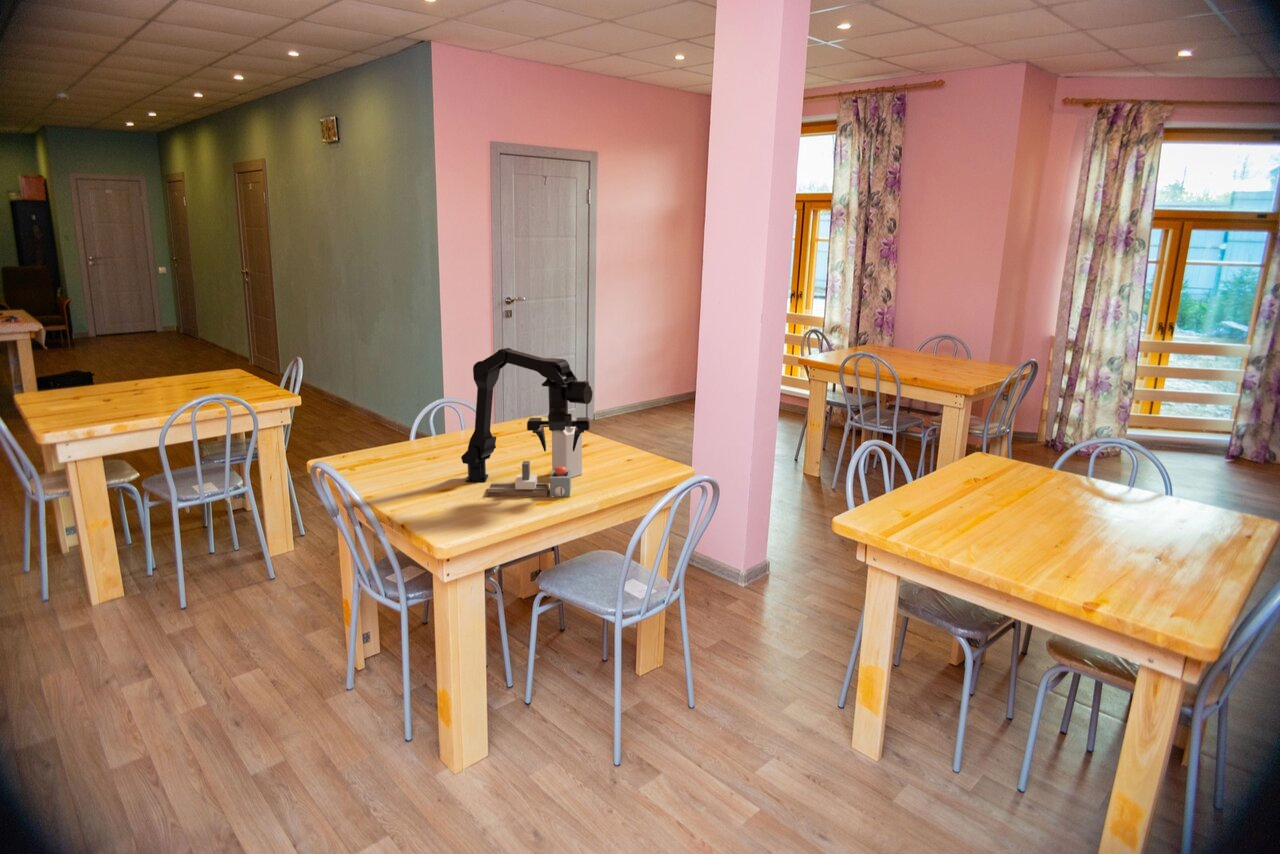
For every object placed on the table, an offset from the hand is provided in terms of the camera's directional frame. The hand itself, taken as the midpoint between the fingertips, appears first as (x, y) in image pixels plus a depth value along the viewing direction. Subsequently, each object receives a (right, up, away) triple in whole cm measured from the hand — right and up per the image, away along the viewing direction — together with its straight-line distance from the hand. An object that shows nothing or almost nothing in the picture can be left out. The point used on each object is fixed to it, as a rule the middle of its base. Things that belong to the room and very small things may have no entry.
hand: (559, 451), depth 233 cm
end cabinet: (0, -13, +3) cm, 13 cm away
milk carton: (0, -9, +21) cm, 23 cm away
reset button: (0, -7, +2) cm, 7 cm away
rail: (-13, -13, +3) cm, 18 cm away
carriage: (-10, -11, +2) cm, 15 cm away
